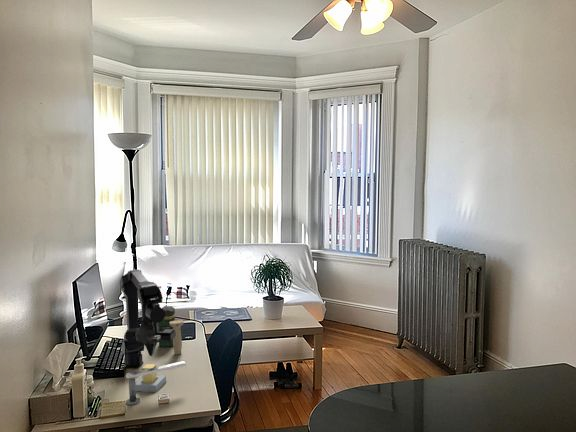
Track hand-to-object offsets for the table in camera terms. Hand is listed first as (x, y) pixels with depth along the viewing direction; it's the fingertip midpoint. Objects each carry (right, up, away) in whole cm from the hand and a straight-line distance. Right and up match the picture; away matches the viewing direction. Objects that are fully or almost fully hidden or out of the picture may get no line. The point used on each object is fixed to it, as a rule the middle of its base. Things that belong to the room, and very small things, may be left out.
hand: (151, 355), depth 191 cm
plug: (-1, -12, +1) cm, 12 cm away
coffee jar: (-6, -9, +50) cm, 51 cm away
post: (-3, -13, -13) cm, 19 cm away
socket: (-1, -12, +1) cm, 12 cm away
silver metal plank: (+4, -3, -9) cm, 10 cm away
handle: (+2, -10, +37) cm, 38 cm away
